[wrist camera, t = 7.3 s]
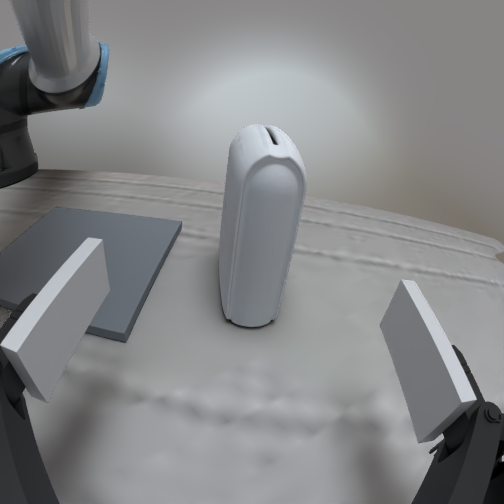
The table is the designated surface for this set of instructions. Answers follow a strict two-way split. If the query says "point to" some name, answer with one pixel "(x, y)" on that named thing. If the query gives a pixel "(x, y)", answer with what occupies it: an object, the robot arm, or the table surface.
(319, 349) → the table surface
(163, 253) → the rubber mat
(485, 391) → the table surface
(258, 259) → the photo printer
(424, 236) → the table surface
